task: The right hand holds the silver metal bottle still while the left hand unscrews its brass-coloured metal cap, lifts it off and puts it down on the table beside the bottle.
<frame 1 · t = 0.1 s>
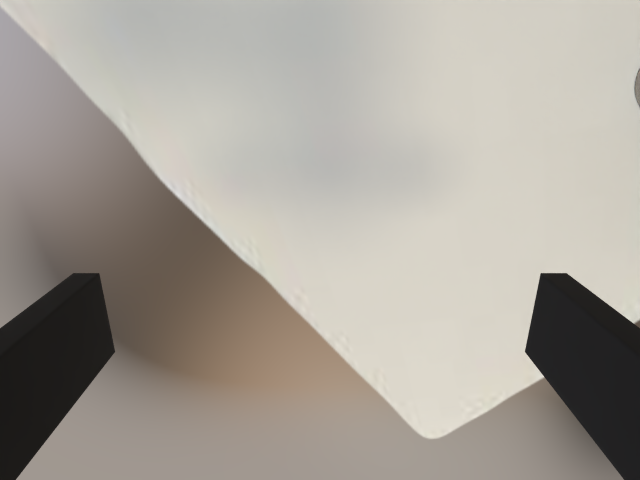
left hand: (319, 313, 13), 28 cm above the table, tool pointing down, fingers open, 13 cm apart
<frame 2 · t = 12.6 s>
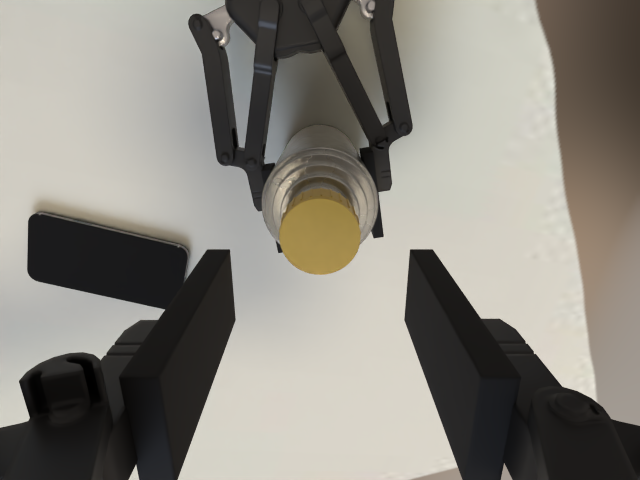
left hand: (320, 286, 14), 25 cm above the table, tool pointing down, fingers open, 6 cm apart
right hand: (330, 238, 33), fingers closed on bottle, 7 cm apart
bottle: (319, 162, 38), on the table, touching right hand
cap: (319, 235, 19), point 20 cm above the table, screwed on, not yet turned
smartphone: (111, 260, 41), on the table
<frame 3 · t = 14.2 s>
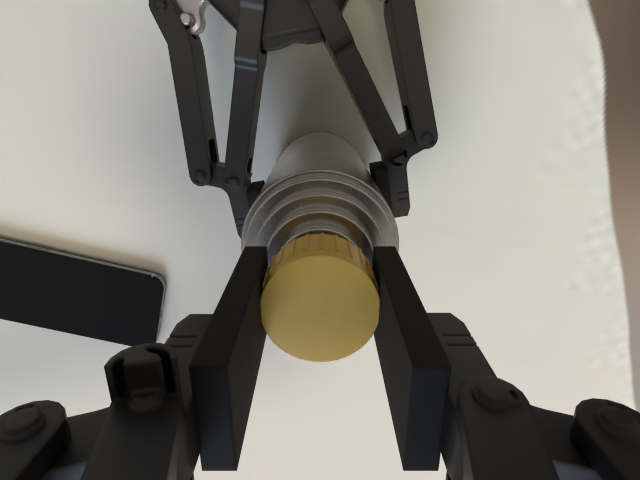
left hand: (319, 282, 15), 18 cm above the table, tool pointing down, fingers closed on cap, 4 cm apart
right hand: (332, 273, 27), fingers closed on bottle, 7 cm apart
bottle: (320, 177, 32), on the table, touching right hand
cap: (320, 306, 13), point 20 cm above the table, screwed on, not yet turned, touching left hand
smartphone: (74, 291, 35), on the table
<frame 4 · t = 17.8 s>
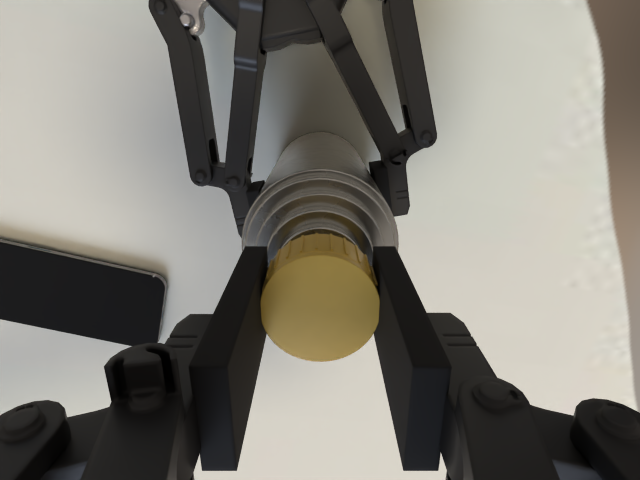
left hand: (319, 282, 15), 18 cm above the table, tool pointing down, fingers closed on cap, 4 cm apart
right hand: (333, 272, 27), fingers closed on bottle, 7 cm apart
bottle: (320, 176, 32), on the table, touching right hand
cap: (320, 306, 13), point 20 cm above the table, turned 120° so far, risen 0.1 cm, still on its thread, touching left hand
smartphone: (75, 292, 35), on the table
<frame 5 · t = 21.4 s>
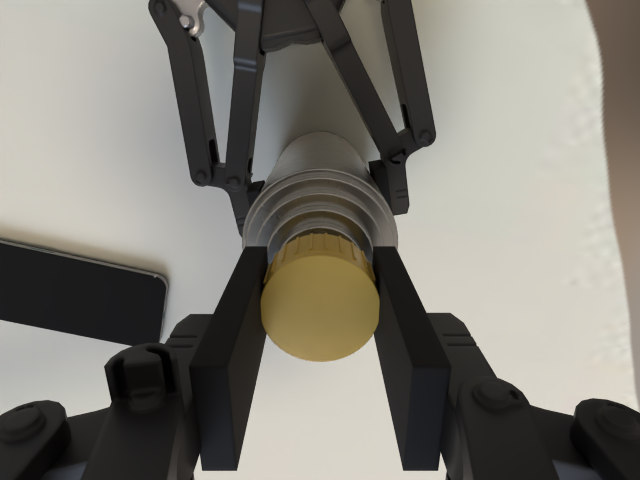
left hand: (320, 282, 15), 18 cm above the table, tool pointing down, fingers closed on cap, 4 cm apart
right hand: (333, 271, 27), fingers closed on bottle, 7 cm apart
bottle: (320, 176, 32), on the table, touching right hand
cap: (320, 306, 13), point 20 cm above the table, turned 240° so far, risen 0.2 cm, still on its thread, touching left hand
smartphone: (77, 293, 35), on the table
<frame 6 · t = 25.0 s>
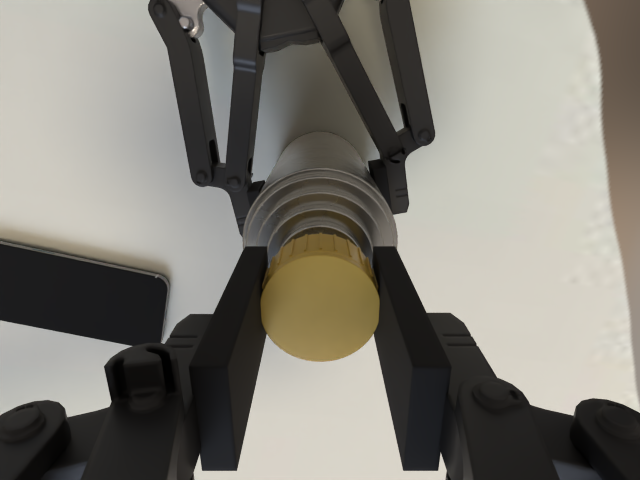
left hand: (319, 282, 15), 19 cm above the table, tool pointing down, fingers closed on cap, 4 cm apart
right hand: (333, 270, 27), fingers closed on bottle, 7 cm apart
bottle: (320, 176, 32), on the table, touching right hand
cap: (320, 306, 13), point 20 cm above the table, turned 360° so far, risen 0.3 cm, still on its thread, touching left hand
smartphone: (79, 293, 35), on the table
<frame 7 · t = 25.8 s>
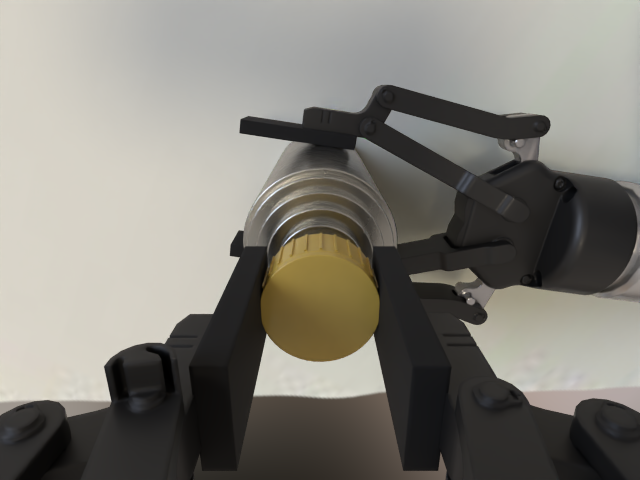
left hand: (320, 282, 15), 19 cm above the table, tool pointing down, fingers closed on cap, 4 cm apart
right hand: (239, 186, 25), fingers closed on bottle, 7 cm apart
bottle: (320, 176, 32), on the table, touching right hand
cap: (320, 306, 13), point 20 cm above the table, off its thread, touching left hand
when the left hand's fingers open (1 cm above the table, at t = 32.1 s): cap drops 1 cm, point 2 cm above the table.
when the right hand's fingers open (7 cm above the table, at t = 33.4 s): bottle stays where it is, on the table.
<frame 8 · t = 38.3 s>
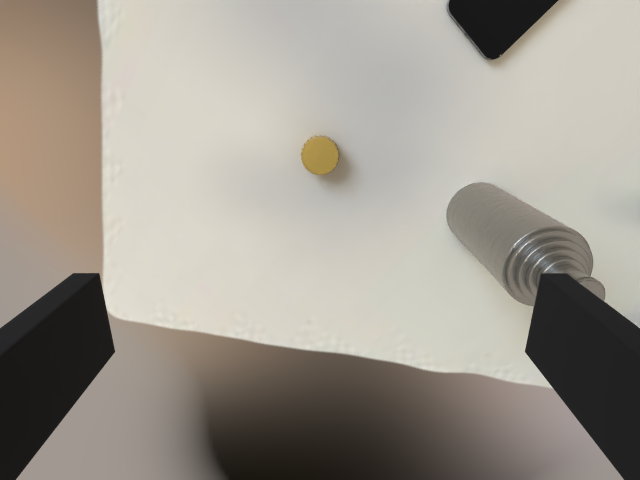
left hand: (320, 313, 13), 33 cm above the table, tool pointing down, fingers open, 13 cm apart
bottle: (477, 212, 46), on the table
cap: (320, 156, 42), point 2 cm above the table, off its thread
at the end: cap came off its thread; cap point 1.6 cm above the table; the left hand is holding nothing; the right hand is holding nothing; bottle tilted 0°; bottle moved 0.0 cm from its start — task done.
